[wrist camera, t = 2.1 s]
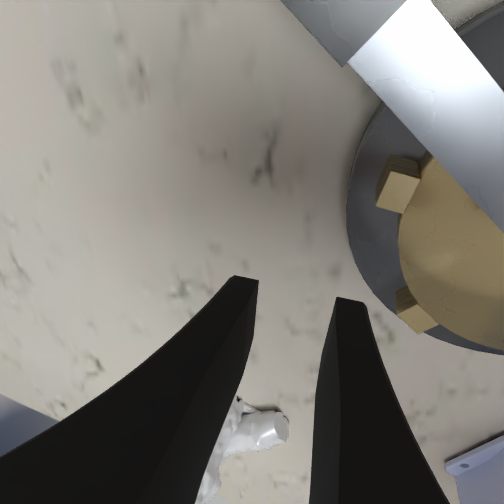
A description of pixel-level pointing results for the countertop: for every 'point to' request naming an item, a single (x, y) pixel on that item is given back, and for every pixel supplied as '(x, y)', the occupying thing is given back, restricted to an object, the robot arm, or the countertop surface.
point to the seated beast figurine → (241, 440)
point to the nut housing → (408, 146)
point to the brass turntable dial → (431, 157)
